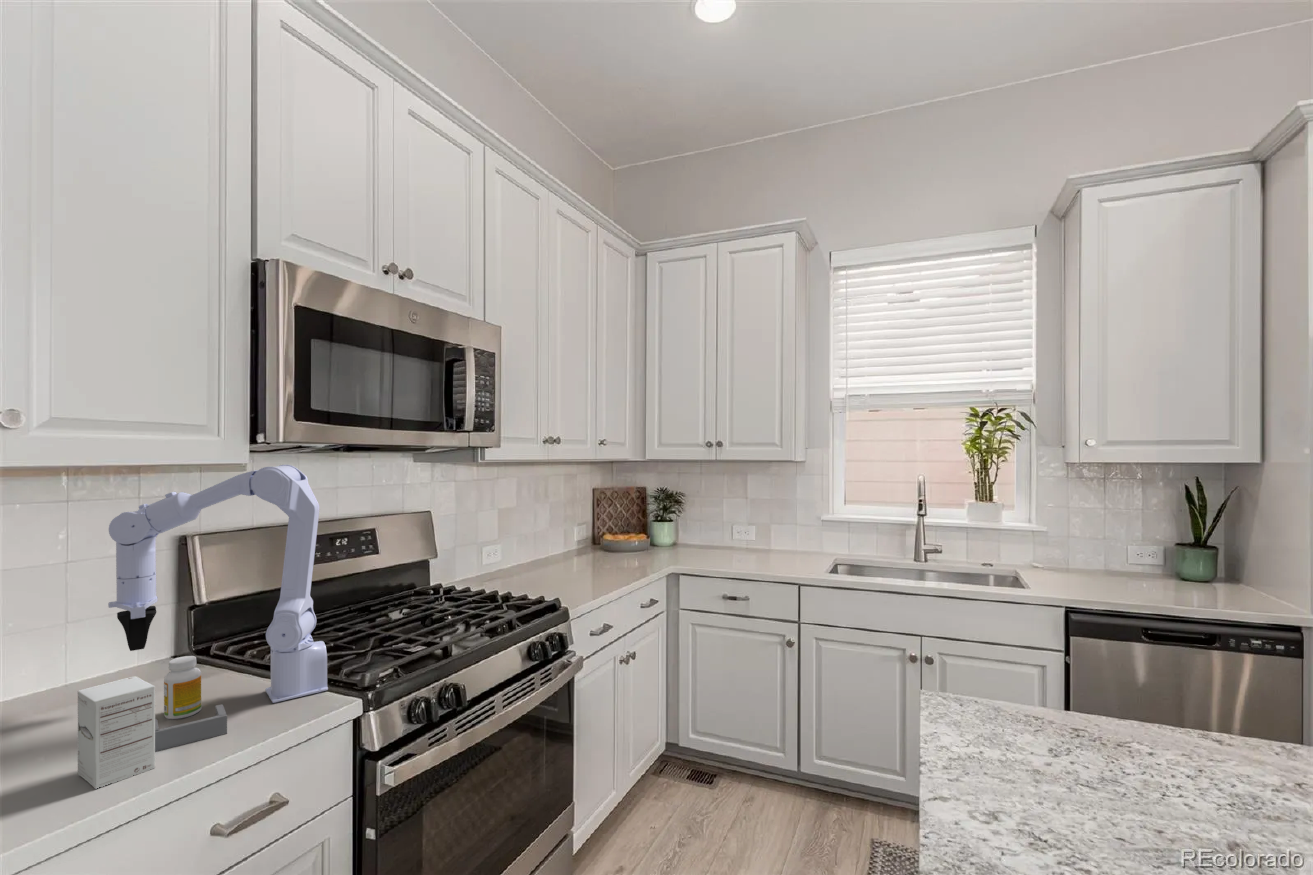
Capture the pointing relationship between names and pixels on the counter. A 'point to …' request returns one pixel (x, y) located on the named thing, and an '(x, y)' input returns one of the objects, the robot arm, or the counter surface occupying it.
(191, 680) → the supplement bottle
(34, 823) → the counter surface
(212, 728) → the clip holder
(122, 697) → the supplement box
